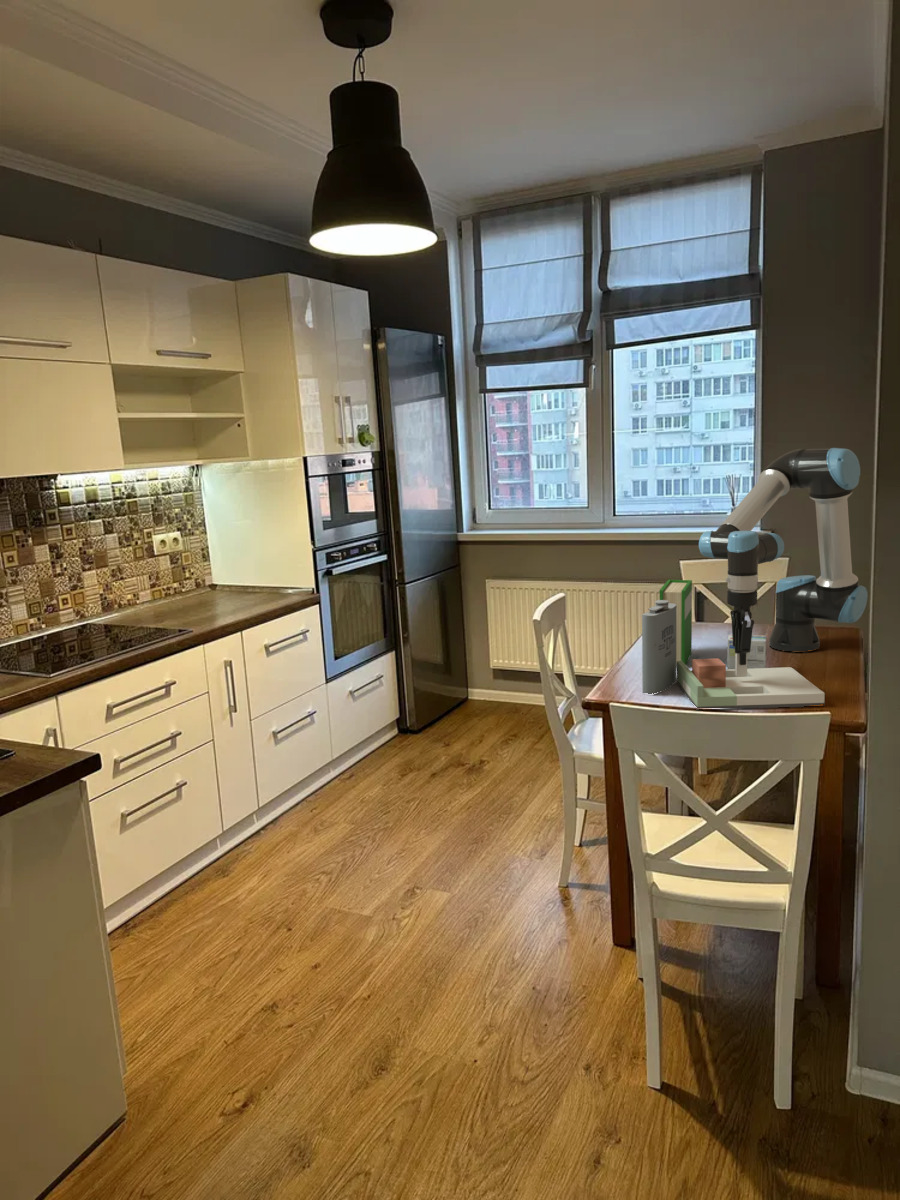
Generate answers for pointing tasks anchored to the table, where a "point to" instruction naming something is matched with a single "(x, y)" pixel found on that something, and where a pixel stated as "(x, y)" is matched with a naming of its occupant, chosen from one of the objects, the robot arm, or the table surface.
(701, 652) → the table surface
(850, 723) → the table surface
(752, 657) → the light bulb box
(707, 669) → the block
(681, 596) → the hardback book
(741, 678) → the box
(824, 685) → the table surface
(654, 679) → the flask
